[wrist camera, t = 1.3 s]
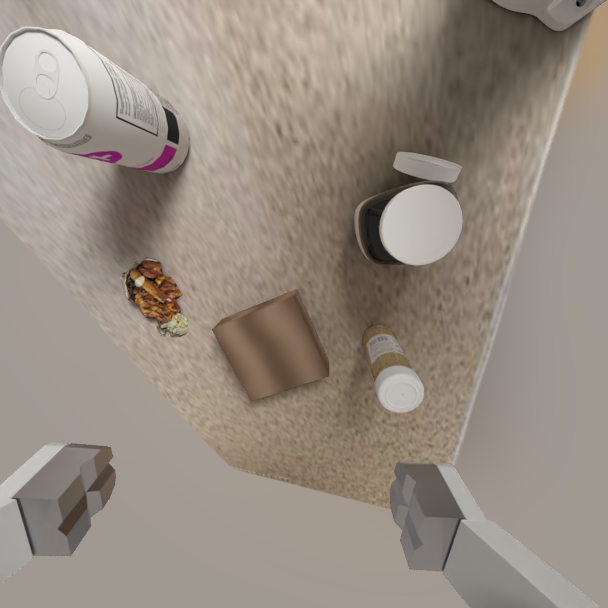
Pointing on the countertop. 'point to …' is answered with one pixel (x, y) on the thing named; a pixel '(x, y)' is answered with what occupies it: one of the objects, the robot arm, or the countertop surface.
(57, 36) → the supplement can
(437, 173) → the spread jar
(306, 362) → the walnut base
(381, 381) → the sprinkles bottle
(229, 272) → the countertop surface
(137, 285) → the pastry
